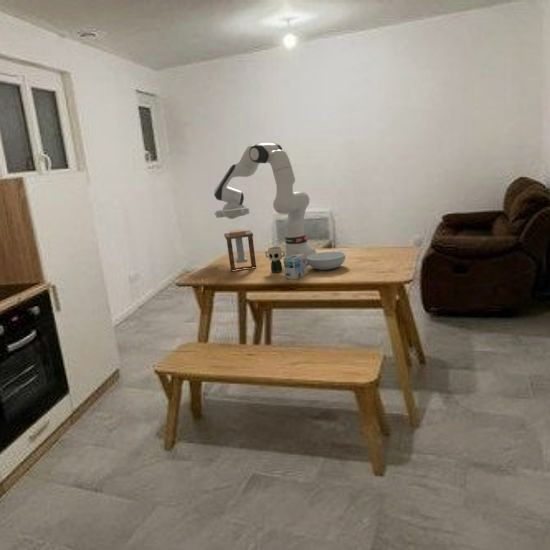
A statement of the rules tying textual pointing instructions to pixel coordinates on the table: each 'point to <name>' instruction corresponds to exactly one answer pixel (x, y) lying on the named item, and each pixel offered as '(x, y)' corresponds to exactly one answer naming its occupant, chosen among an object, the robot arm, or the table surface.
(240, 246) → the hanging peg
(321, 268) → the serving bowl
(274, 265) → the character mug
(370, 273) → the table surface
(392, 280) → the table surface
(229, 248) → the brown wooden frame rack
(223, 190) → the robot arm
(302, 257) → the light bulb box
